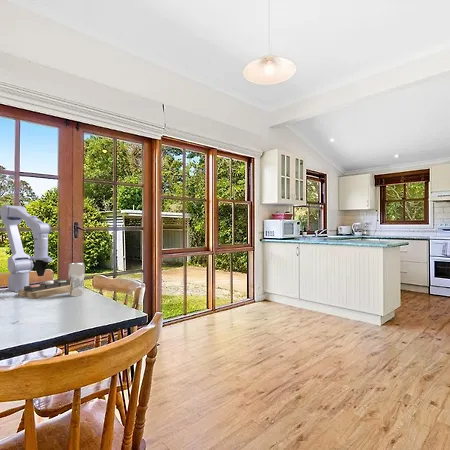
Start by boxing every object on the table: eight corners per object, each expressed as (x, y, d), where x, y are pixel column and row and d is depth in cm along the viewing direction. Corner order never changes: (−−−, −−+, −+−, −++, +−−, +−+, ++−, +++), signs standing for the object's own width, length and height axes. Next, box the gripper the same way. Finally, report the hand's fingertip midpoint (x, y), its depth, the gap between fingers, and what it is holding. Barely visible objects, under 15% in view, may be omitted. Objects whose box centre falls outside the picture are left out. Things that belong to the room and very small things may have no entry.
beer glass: (80, 296, 144) (80, 264, 144) (65, 296, 144) (65, 264, 144) (87, 293, 150) (87, 262, 151) (72, 293, 151) (73, 262, 151)
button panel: (18, 295, 145) (18, 285, 145) (59, 287, 164) (59, 279, 164) (36, 298, 139) (36, 288, 139) (77, 290, 158) (77, 281, 158)
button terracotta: (27, 290, 144) (27, 286, 144) (36, 288, 148) (36, 284, 148) (33, 290, 143) (33, 286, 143) (41, 289, 146) (41, 285, 146)
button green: (55, 285, 157) (55, 281, 157) (62, 283, 160) (63, 280, 160) (60, 285, 155) (61, 282, 155) (68, 284, 159) (68, 281, 159)
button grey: (42, 285, 151) (42, 281, 151) (50, 283, 154) (50, 280, 154) (47, 285, 149) (47, 282, 149) (55, 284, 152) (55, 281, 152)
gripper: (58, 248, 150) (57, 276, 150) (40, 246, 156) (39, 273, 156) (44, 248, 143) (43, 278, 143) (25, 247, 150) (25, 275, 150)
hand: (40, 275), depth 149 cm, fingers closed
